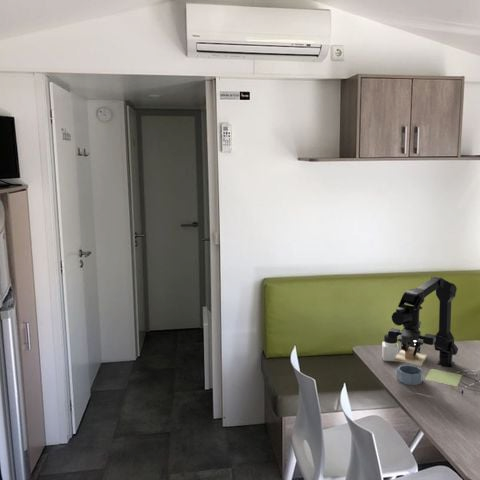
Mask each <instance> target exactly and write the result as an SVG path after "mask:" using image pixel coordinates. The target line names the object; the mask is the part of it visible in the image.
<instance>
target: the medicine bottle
mask: <svg viewBox="0 0 480 480" xmlns="http://www.w3.org/2000/svg"><path fill="white" fill-rule="evenodd" d="M383 337H384V338H383V340H384V341H382V343H381V356H382V359H383V361H385V362H395V361H394V358H395V357H396V355H397V354H398V353H399V352H400V347H399V343H398V336H397V337H396V338H395V339H394V338H388V333H386V334H384V336H383ZM396 362H399V361H396Z"/></svg>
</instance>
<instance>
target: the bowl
mask: <svg viewBox="0 0 480 480" xmlns="http://www.w3.org/2000/svg"><path fill="white" fill-rule="evenodd" d="M396 379H397V381H398V382H400V383H402V384H404V385H407V386H408V385H409V386H418V385H420V384H423V380H424V369H423V368H421V367H419V366H418V365H413V364H402V365H399V366H398V367H397V369H396Z"/></svg>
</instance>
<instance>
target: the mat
mask: <svg viewBox="0 0 480 480" xmlns="http://www.w3.org/2000/svg"><path fill="white" fill-rule="evenodd" d="M462 376H463V374H459V373H454V372H450V371H445V370H440V369H435V368H434V369H433V368H430V370H429V372H428V374H427V375H426V376H425V378H424V380H425V381H429V382H434V383H438V384H445V385H448V386H452V387H453V386H454V387H458V386H459V383H460V381H461V378H462Z"/></svg>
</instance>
